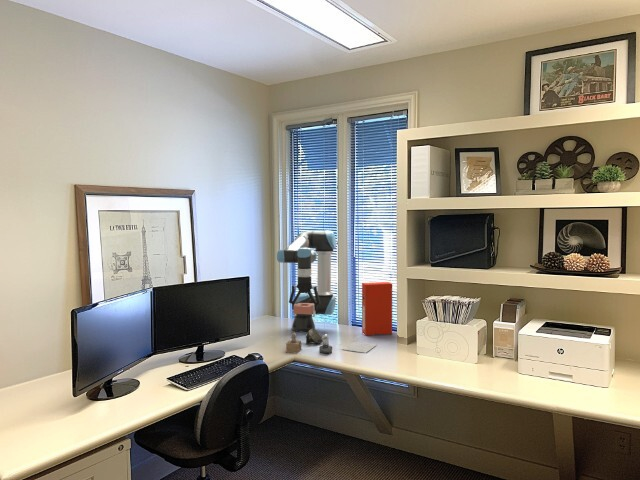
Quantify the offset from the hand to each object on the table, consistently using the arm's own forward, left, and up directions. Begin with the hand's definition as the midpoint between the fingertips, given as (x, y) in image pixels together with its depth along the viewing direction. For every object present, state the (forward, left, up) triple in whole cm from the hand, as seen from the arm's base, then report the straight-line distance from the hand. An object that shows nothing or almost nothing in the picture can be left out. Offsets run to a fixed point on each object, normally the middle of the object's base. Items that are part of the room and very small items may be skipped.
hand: (304, 316), depth 264 cm
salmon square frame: (0, 0, +2) cm, 2 cm away
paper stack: (-7, +33, -20) cm, 39 cm away
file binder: (-45, +37, -20) cm, 62 cm away
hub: (0, +12, -20) cm, 23 cm away
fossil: (-17, +2, -20) cm, 27 cm away
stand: (0, -6, -20) cm, 21 cm away
